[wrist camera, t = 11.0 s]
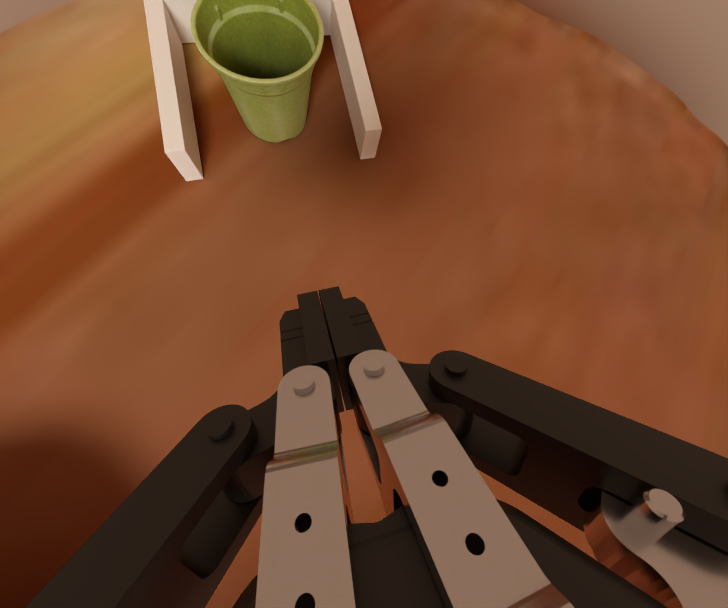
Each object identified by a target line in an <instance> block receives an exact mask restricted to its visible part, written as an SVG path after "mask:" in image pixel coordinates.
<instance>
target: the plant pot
mask: <svg viewBox="0 0 728 608" xmlns="http://www.w3.org/2000/svg"><path fill="white" fill-rule="evenodd" d="M191 32H192V36H193V39H194V41H195V44H196V46H197V48H198V50H199V51H200V53H201V54H202V56H203V57H204V58H205V60H206V61H207V62H208V63H209V64H210V65H211V66H213V67H214V69H215V70H216V71H217V73H218V74H219V75H220V76H221V77H222V79H223V81H224V83H225V85H226V87H227V89H228V91H229V93H230V95H231V97H232V99H233V101H234V103H235V105H236V107H237V109H238V111H239V113H240V115H241V117H242V119H243V120H244V122H245V124H246V126H247V127H248V129H249V130H250V131H251V132H252V133H253V134H254V135H255V136H257V137H259V138H260V139H262V140H265V141H269V142H281V141H283V140H286V139H290V138H295V137H296V136H297V135H299V134H300V133H301V131H302V130H303V128H304V126H305V123H306V118H307V110H308V100H309V92H310V84H311V77H312V71H313V69H314V66H315V63H316V62H317V60H318V58H319V56H320V54H321V51H322V47H323V39H324V29H323V23H322V20H321V17H320V15H319V12H318V10H317V9H316V7H315V6H314V4H313V3H312V2H311V0H196V2H195V4H194V6H193V9H192V12H191Z"/></svg>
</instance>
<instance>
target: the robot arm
mask: <svg viewBox="0 0 728 608" xmlns="http://www.w3.org/2000/svg"><path fill="white" fill-rule="evenodd" d="M319 296H320V300H319ZM319 296H318V293H317V291H313V292H308V293H303V294H298V295H297V298H298V304H299V309H295V310H290V311H285V312H284V314H283V316H282V318H281V320H280V333H281V334H280V335H281V350H282V365H283V378H282V379H281V381H280V383H279V386H278V390H277V391H276V392H275V394H273V395H272V396H271V397H270V398H269V399H267V400H266V401H264V402H263V403H261V404H259V405H257V406H255V407H253V408H252V409H250V410H247V409H245V408H244V407H242V406H239V405H225V406H221V407H218V408H216V409H214V410H212V411H211V412H209V413H208V414H206V415H205V416H204V417H203V418H202V419H201V420H200V421H199V422H198V423H197V424H196V425H195V426H194V427H193V428H192V429H191V430H190V431H189V432H188V433H187V435H186V436H185V437H184V438H183V439H182V440H181V441H180V442H179V443H178V444H177V445H176V446H175V447H174V448H173V450H172V451H171V452H170V453H169V454H168V455H167V456H166V457H165V458H164V459H163V460H162V461H161V462H160V463H159V465H158V466H157V467H156V468H155V469H154V470H153V471H152V472H151V473H150V474H149V475H148V476H147V477H146V478H145V480H144V481H143V482H142V483H141V484H140V485H139V486H138V487H137V488H136V489H135V490H134V491H133V492H132V493H131V495H130V496H129V497H128V498H127V499H126V500H125V501H124V502H123V503H122V504H121V505H120V506H119V507H118V508H117V509H116V511H115V512H114V513H113V514H112V515H111V516H110V517H109V518H108V519H107V520H106V521H105V522H104V523H103V524H102V526H101V527H100V528H99V529H98V530H97V531H96V532H95V533H94V534H93V535H92V536H91V537H90V538H89V539H88V541H87V542H86V543H85V544H84V545H83V546H82V547H81V548H80V549H79V550H78V551H77V552H76V553H75V554H74V556H73V557H72V558H71V559H70V560H69V561H68V562H67V563H66V564H65V565H64V566H63V567H62V568H61V569H60V571H59V572H58V573H57V574H56V575H55V576H54V577H53V578H52V579H51V580H50V581H49V582H48V583H47V584H46V585H45V587H44V588H43V589H42V590H41V591H40V592H39V593H38V594H37V595H36V596H35V597H34V598H33V599H32V600H31V602H30V603H29V604H28V605H27V606H26V607H25V608H205V606H206V605H207V603H208V601H209V600H210V598H211V596H212V595H213V593H214V591H215V590H216V588H217V586H218V585H219V583H220V581H221V580H222V578H223V576H224V575H225V573H226V571H227V570H228V568H229V566H230V565H231V563H232V562H233V560H234V558H235V557H236V555H237V553H238V552H239V550H240V548H241V547H242V545H243V543H244V542H245V540H246V538H247V537H248V535H249V533H250V532H251V530H252V528H253V527H254V525H255V523H256V522H257V520H258V518H259V517H260V515H261V513H262V524H261V537H260V551H259V565H258V575H257V576H256V577H255V578H254V579H253V580H252V581H251V582H250V584H249V585H248V586H247V587H246V589H245V590H244V591H243V593H242V594H241V595H240V597H239V598H238V600H237V601H236V603H235V605H234V606H233V608H728V458H725V457H723V456H720V455H718V454H715V453H713V452H711V451H708V450H706V449H703V448H701V447H698V446H696V445H693V444H691V443H688V442H686V441H683V440H681V439H678V438H676V437H673V436H671V435H668V434H666V433H663V432H661V431H658V430H656V429H653V428H651V427H648V426H646V425H643V424H641V423H638V422H636V421H633V420H631V419H628V418H626V417H623V416H621V415H618V414H616V413H613V412H611V411H609V410H606V409H604V408H601V407H599V406H596V405H594V404H591V403H589V402H586V401H584V400H581V399H579V398H576V397H574V396H571V395H569V394H566V393H564V392H561V391H559V390H556V389H554V388H551V387H549V386H546V385H544V384H541V383H539V382H536V381H534V380H531V379H529V378H526V377H524V376H521V375H519V374H516V373H514V372H511V371H509V370H507V369H504V368H502V367H499V366H497V365H494V364H492V363H489V362H487V361H484V360H482V359H479V358H477V357H474V356H472V355H469V354H467V353H464V352H460V351H453V350H452V351H444V352H440V353H438V354H437V355H435V356H434V357H433V358H432V360H431V361H430V364H409V363H404V362H401V361H398V360H397V359H396V358H395V357H394V356H393V355H392V354H390V353H388V352H387V351H386V349H385V347H384V344H383V342H382V340H381V338H380V336H379V334H378V332H377V329H376V327H375V325H374V323H373V322H372V319H371V317H370V314H369V312H368V310H367V308H366V306H365V304H364V303H363V302H362V301H360V300H359V299H358V298H356V297H352V298H347V299H343V297H342V295H341V292H340V289H339V287H333V288H328V289H323V290H319ZM320 301H321V304H320ZM321 307H322V308H321ZM339 384H340V385H339ZM340 388H341V390H340ZM341 392H342V396H343V400H344V403H345V407H346V410H350V409H353V410H354V413H355V417H356V421H357V428H358V433H359V435H360V438H361V441H362V444H363V446H364V449H365V452H366V454H367V457H368V460H369V463H370V465H371V468H372V471H373V474H374V476H375V479H376V482H377V485H378V487H379V490H380V494H381V497H382V501H383V505H384V509H385V512H386V516H387V517H385V518H384V519H382V520H381V521H379V522H376V523H356V524H354V520H353V514H352V508H351V502H350V495H349V488H348V481H347V474H346V466H345V459H344V452H343V444H342V437H341V433H342V426H341V421H340V416H339V413H340V412H343V411H344V407H343V402H342V396H341ZM476 468H477V469H478V470H480V471H482V472H483V473H485V474H487V475H488V476H490V477H492V478H493V479H495V480H497V481H499V482H500V483H502V484H504V485H505V486H507V487H509V488H510V489H512V490H514V491H515V492H517V493H519V494H521V495H522V496H524V497H526V498H527V499H529V500H531V501H532V502H534V503H536V504H537V505H539V506H541V507H543V508H544V509H546V510H548V511H549V512H551V513H553V514H554V515H556V516H558V517H559V518H561V519H563V520H565V521H566V522H568V523H570V524H571V525H573V526H575V527H576V528H578V529H580V530H581V531H583V532H585V536H586V539H587V541H588V543H589V545H590V547H591V549H592V550H593V553H594V556H595V558H596V559H597V560H598V561H596V560H595V559H593V558H592V557H590V556H589V555H587V554H586V553H584V552H583V551H581V550H580V549H578V548H577V547H575V546H574V545H572V544H571V543H569V542H567V541H566V540H564V539H563V538H561V537H560V536H558V535H557V534H555V533H554V532H552V531H551V530H549V529H548V528H546V527H545V526H543V525H542V524H540V523H539V522H537V521H535V520H534V519H532V518H531V517H529V516H528V515H526V514H525V513H523V512H522V511H520V510H518V509H517V508H515V507H513V506H511V505H509V504H507V503H505V502H503V501H500V500H497V499H495V497H494V496H493V494H492V493H491V491H490V489H489V488H488V486H487V485H486V483H485V482H484V480H483V479H482V477H481V475H480V474H479V472H478V471H477V469H476Z"/></svg>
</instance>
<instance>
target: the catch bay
mask: <svg viewBox="0 0 728 608" xmlns="http://www.w3.org/2000/svg"><path fill="white" fill-rule="evenodd" d="M195 2H196V0H144V6H145V13H146V20H147V28H148V35H149V42H150V49H151V56H152V63H153V71H154V78H155V85H156V92H157V99H158V107H159V114H160V121H161V128H162V135H163V142H164V150H165V153H166V155H167V156H168V157H169V159H170V160H171V161H172V163H173V164H174V165H175V167H176V168H177V169H178V171H179V172H180V173H181V175H182V176H183V177H184V179H185V180H186V181H191V180H199V179H203V173H202V166H201V160H200V154H199V147H198V141H197V135H196V128H195V122H194V116H193V109H192V103H191V97H190V90H189V84H188V78H187V71H186V65H185V59H184V52H183V46H182V43H195V41H194V39H193V36H192V32H191V12H192V9H193V6H194V4H195ZM311 2H312V3H313V4H314V6H315V7H316V9H317V10H318V12H319V15H320V17H321V20H322V23H323V29H324V35H330V37H331V41H332V45H333V49H334V54H335V58H336V62H337V66H338V70H339V74H340V78H341V82H342V86H343V90H344V94H345V99H346V103H347V107H348V111H349V115H350V119H351V123H352V127H353V131H354V135H355V139H356V143H357V148H358V152H359V156H360V160H361V159H369V158H375V155H376V151H377V147H378V143H379V139H380V135H381V131H382V127H381V123H380V119H379V115H378V111H377V108H376V104H375V100H374V96H373V92H372V88H371V85H370V81H369V77H368V73H367V69H366V65H365V62H364V58H363V54H362V50H361V46H360V42H359V39H358V35H357V31H356V27H355V23H354V19H353V16H352V12H351V8H350V4H349V0H311Z"/></svg>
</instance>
